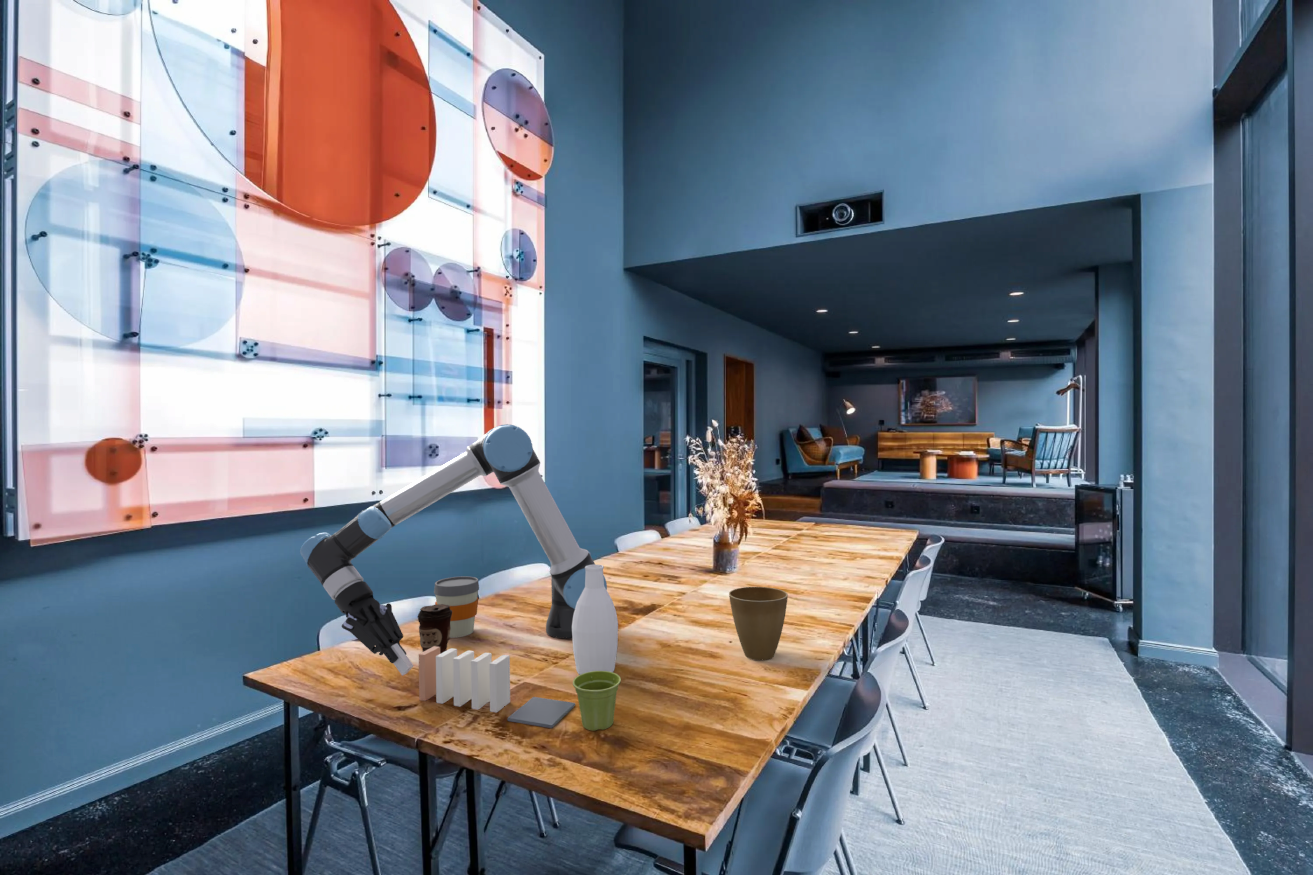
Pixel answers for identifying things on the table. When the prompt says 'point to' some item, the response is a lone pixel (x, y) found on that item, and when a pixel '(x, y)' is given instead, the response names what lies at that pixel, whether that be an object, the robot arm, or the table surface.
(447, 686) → the domino
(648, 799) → the table surface
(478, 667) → the domino
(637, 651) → the table surface
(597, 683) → the plant pot
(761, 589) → the plant pot
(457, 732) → the table surface
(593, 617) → the bottle
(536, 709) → the slate coaster
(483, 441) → the robot arm
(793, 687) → the table surface
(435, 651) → the domino
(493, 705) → the domino
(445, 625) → the coffee cup
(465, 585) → the reusable coffee cup
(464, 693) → the domino
